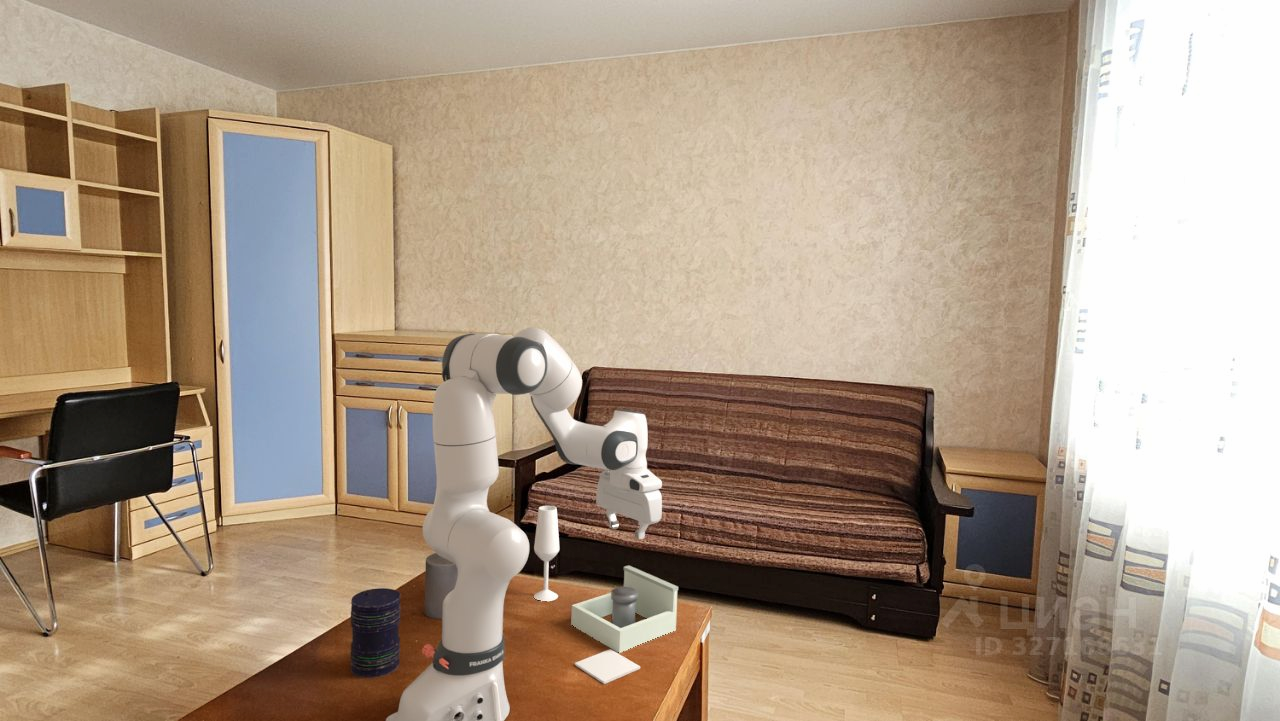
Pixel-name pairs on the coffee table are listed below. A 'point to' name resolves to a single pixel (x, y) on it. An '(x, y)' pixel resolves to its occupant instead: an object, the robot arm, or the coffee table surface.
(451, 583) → the pillar candle
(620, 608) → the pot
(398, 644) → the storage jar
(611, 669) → the mat
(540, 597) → the champagne flute
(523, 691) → the coffee table surface
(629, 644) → the frame
